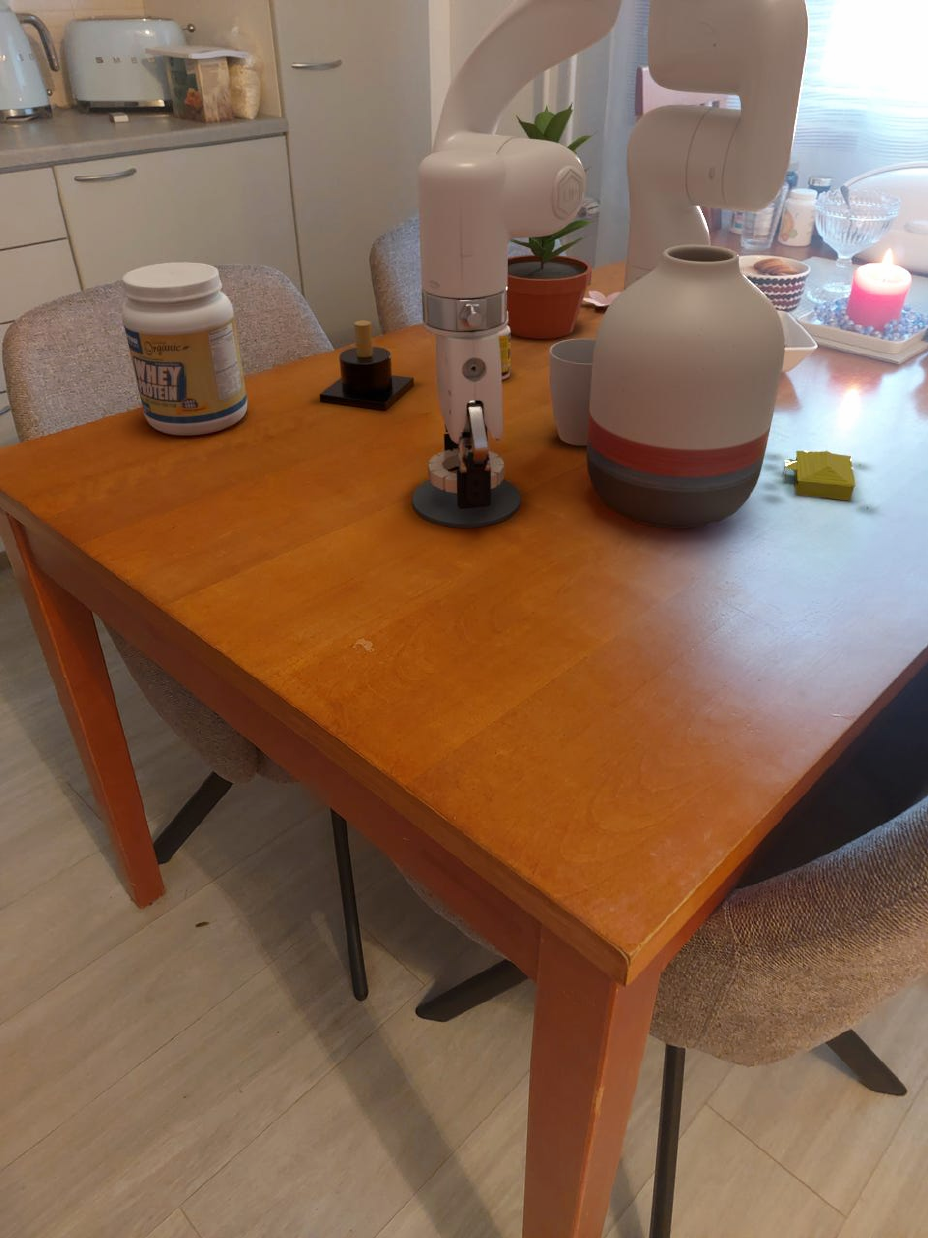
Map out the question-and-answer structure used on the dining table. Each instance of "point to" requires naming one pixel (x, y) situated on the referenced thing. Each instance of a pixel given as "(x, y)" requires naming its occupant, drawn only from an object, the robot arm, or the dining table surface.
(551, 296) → the potted plant
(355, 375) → the ring holder
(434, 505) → the coaster
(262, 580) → the dining table surface
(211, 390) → the supplement tub
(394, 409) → the dining table surface
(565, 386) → the cup
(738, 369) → the vase
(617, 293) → the flower
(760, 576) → the dining table surface
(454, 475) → the ring
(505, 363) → the supplement bottle
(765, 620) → the dining table surface
